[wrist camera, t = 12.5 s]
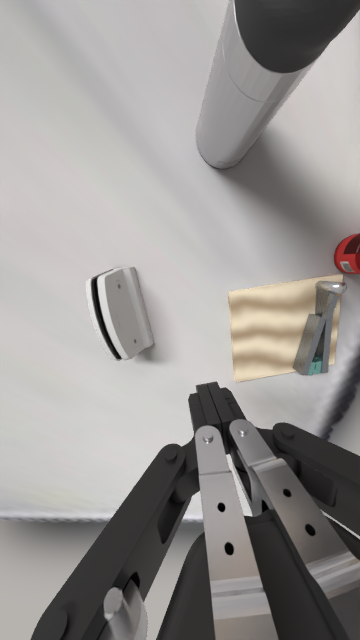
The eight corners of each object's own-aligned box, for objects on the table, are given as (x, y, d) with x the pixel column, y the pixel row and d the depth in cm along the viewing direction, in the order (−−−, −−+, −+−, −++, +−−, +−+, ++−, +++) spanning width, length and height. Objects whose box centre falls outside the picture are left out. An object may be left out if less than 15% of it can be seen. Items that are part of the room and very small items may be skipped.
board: (228, 291, 39) (230, 292, 38) (338, 274, 41) (343, 274, 39) (234, 379, 45) (236, 382, 44) (329, 361, 47) (334, 364, 45)
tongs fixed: (310, 281, 39) (331, 284, 34) (324, 279, 39) (347, 281, 35) (306, 367, 45) (323, 379, 40) (318, 365, 45) (337, 377, 40)
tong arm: (315, 291, 40) (333, 294, 36) (327, 293, 40) (345, 296, 36) (292, 367, 44) (305, 378, 40) (303, 368, 45) (317, 378, 41)
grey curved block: (154, 344, 41) (132, 370, 32) (135, 345, 42) (108, 371, 33) (133, 264, 36) (100, 269, 27) (112, 269, 38) (74, 275, 28)
